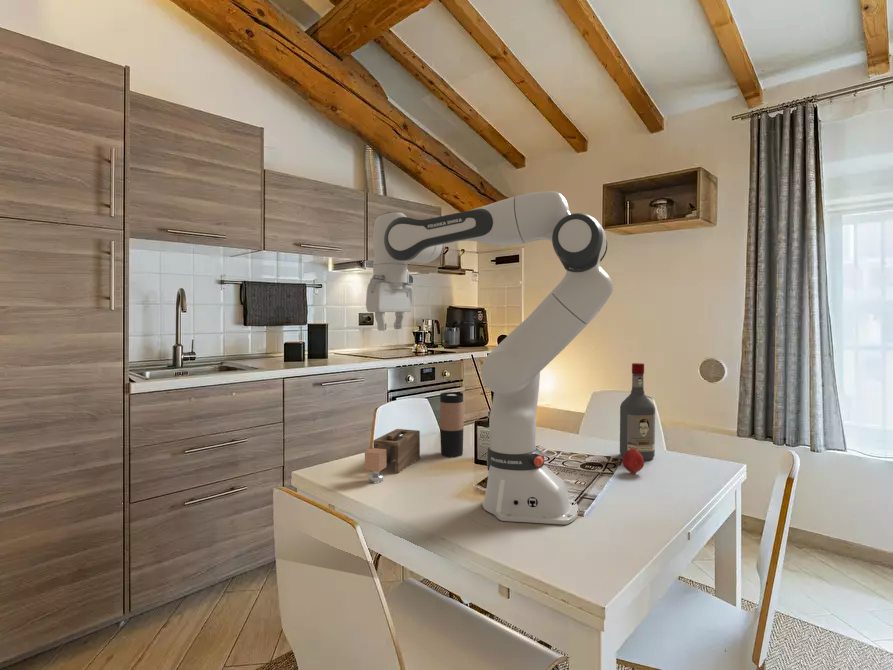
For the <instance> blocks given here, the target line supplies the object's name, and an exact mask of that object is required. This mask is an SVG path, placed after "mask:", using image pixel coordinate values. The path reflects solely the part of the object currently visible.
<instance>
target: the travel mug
mask: <svg viewBox="0 0 893 670" xmlns="http://www.w3.org/2000/svg"><path fill="white" fill-rule="evenodd" d="M439 395H440V396H439V398H440V399H439V400H440V401H439V404H440V405H439V410H440V411H439V430H440V431H439V433H440V435H439V437H440V454H441V456H442V457H446V458H458V457H462V456H463V455H464V454H463V453H464V394H463V393H462V392H458V391H457V392H456V391H445V392H441V393H440V394H439Z"/></svg>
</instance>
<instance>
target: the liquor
mask: <svg viewBox="0 0 893 670" xmlns="http://www.w3.org/2000/svg"><path fill="white" fill-rule="evenodd" d="M631 373H632V374H631V379H632V380H631V391H630V394H629V395H628V396H627V397H626V398H625V399H624V400H622V402H621V403H620V405H619V406H620V407H619V409H620V410H619V411H620V412H619V454H620V455H621V456H622V457H623V456H624V454H625V453H626V452H627V451H628V450H630V449H631V448H632V447H636V450H637V451H638V452H639V453H640V454H641V455H642V456H643V459H644V461H651V460H653V459H654V458H655V455H656V453H655V451H656V450H655V449H656V439H655V438H656V407H655V405H654V404H653V402H652V401H651V400H650V398H649V397H648V396H647V395H646V394H645V389H644V388H645V387H644V383H645V382H644V376H645V375H644V374H645V363H640V362H633V363H631Z"/></svg>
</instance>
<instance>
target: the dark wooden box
mask: <svg viewBox="0 0 893 670" xmlns="http://www.w3.org/2000/svg"><path fill="white" fill-rule="evenodd" d="M420 433H421V431H420V430H417V429H416V430H415V429H414V430H413V429H406V428H405V429H404V428H396V429H393V430H391V431H390V432H388V433H385V434H383V435H381V436H379V437H377V438H376V439H374V440H373V442H372V443H373V445H372V448H378V449H386V463H387V465H389V464H391V463H392V462H394V473H395V474H399V473H401V472H403V471H404V470H405V469H407V468H408V467H410V466H411V465H413V464H414V463H415V461H416V462H418V460H420V459H421V437H420V436H421V434H420ZM393 460H394V461H393ZM391 461H392V462H391ZM388 463H389V464H388ZM412 463H413V464H412ZM409 465H410V466H409ZM406 467H407V468H406ZM403 469H404V470H403ZM400 471H401V472H400Z"/></svg>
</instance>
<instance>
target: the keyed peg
mask: <svg viewBox="0 0 893 670" xmlns="http://www.w3.org/2000/svg"><path fill="white" fill-rule="evenodd" d="M387 465H388V464H387V463H386V449H378V448H373V447H371V448H370V449H368V450H366V451H365V452H364V471H371V472H372V473H371V474H369V475H368V482H369V481H370V482H380V483H382V482H381V481H383V482H384V474H383V473H380V472H381V471H383V470H384V469H385V468H387ZM370 482H369V483H370Z"/></svg>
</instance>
